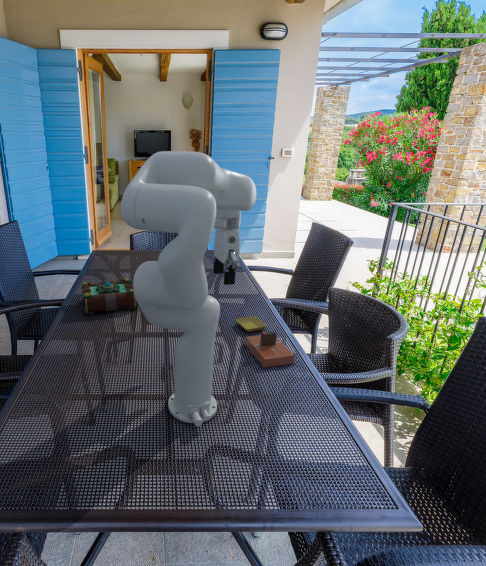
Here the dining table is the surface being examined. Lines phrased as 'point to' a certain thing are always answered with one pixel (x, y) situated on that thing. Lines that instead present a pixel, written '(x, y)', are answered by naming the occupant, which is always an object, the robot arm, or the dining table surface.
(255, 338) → the panel
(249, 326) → the yellow square tray
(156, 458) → the dining table surface
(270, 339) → the black block red end
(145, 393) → the dining table surface
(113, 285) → the book
